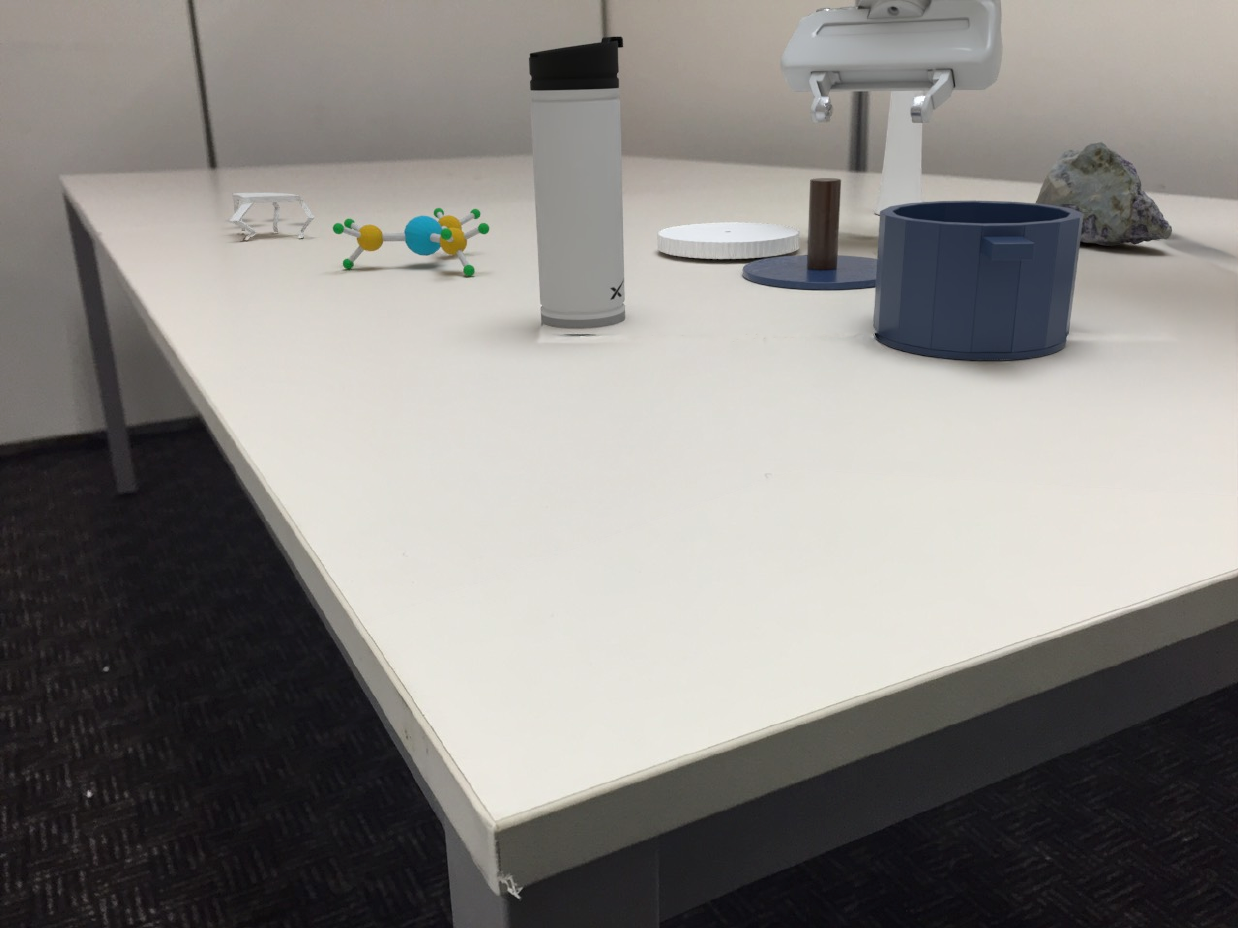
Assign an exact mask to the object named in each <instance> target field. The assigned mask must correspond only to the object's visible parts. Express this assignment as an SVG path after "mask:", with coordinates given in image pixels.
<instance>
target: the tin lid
mask: <svg viewBox="0 0 1238 928" xmlns="http://www.w3.org/2000/svg"><path fill="white" fill-rule="evenodd" d="M841 188H842V179H841V178H835V177H818V178H816V177H815V178H811V179H809V197H808V198H809V199H808V201H809V202H808V222H807V223H808V227H807V228H808V229H807V253H806V254H800V255H785V256H773V257H766V258H762V259H757V260H753V261H751V262H748V263H746V264H744V266H742V276H743V278H744V279H745V280H748V281H750V282H753V283H755V284H760V285H765V286H771V287H778V288H786V289H794V290H795V289H796V290H816V291H817V290H818V291H819V290H822V291H823V290H825V291H827V290H829V291H830V290H831V291H832V290H836V291H837V290H855V289H856V290H857V289H866V288H876V272H877V258H874V257H865V256H856V255H841V254H839V236H840V235H839V233H840V232H839V231H840V215H841V214H840V211H841V190H842V189H841ZM838 254H839V255H838Z"/></svg>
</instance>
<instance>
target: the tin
mask: <svg viewBox="0 0 1238 928" xmlns="http://www.w3.org/2000/svg"><path fill="white" fill-rule="evenodd" d="M1083 215H1084V214H1083V213H1081V212H1079V211H1076V210H1074V209H1071V208H1066V207H1060V206H1054V205H1047V204H1036V202H1034V203H1033V202H1022V201H1006V200H1003V201H1002V200H936V201H935V200H934V201H923V202H920V203H908V204H902V205H896V206H890V207H888V208H886V209H884V210H882V211H880V215H879V222H878V224H879V225H878V237H877V238H878V241H877V257H876V259H877V272H876V286H875V287H874V288H875V290H874V291H875V292H874V307H873V322H872V325H873V328H874V330H875V331H876V332H874V333H873V334H874V338H875V339H876V340H877V341H878V342H880V343H882V344H883V345H885V346H887V347H890V348H893V349H895V350H899V351H902V352H906V353H910V354H916V355H920V356H926V357H933V358H939V359H940V358H941V359H949V360H961V361H1014V360H1026V359H1033V358H1038V357H1039V358H1040V357H1044V356H1048V355H1051V354H1054V353H1057V352H1059V351H1061V350H1062V349H1064V348H1065V347H1066V345H1067V342H1068V341H1067V339H1068V335H1069V333H1070V325H1071V319H1072V312H1073V311H1072V309H1073V303H1074V296H1075V295H1074V293H1075V286H1076V279H1077V278H1076V277H1077V270H1078V262H1079V253H1080V245H1081V241H1080V239H1081V231H1082V223H1083Z"/></svg>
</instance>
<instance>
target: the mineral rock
mask: <svg viewBox="0 0 1238 928" xmlns="http://www.w3.org/2000/svg"><path fill="white" fill-rule="evenodd" d="M1035 203H1036V204H1047V205H1054V206H1060V207H1066V208H1071V209H1074V210H1076V211H1079V212H1081V213H1083V214H1084V215H1083V223H1082V231H1081V239H1080V243H1087V244H1097V245H1100V246H1108V247H1111V246H1119V245H1123V244H1132V245H1139V244H1141V243H1144V242H1146V243H1148V242H1149V243H1150V242H1151V241H1157V240H1158V241H1159V240H1168V239H1170V237H1171V236H1172V233H1173V228H1172V225H1170V223H1169V221H1168V220H1166V219H1165V218H1164V214H1163V213H1162V212H1161V211H1160V208H1159V206H1158V204H1156V202H1155V201H1154V200H1153V199H1152V198H1151V197H1150V196H1148V194H1147V193H1146V192H1145V190H1143V189H1142V181H1141V178H1140V176H1139V175H1138V172H1137V169H1136V167H1135V166H1134V164H1133V163H1132V162H1130V161H1129V160H1127V159H1125V158H1124V157H1123V156H1121V155H1120V154H1119V153H1117V151H1115V150H1113V149H1111V148H1109V147H1108V145H1106V143H1104V142H1102V141H1099V142H1094V143H1090V144H1087V145H1086V146H1085V147H1084V148H1083V149H1082V150H1081V151H1080V150H1073V149H1067V150H1065V151H1063V154H1061V155H1060V156H1059V157H1058V159H1057V161H1056V162H1055V163H1054V164H1053V166H1052V167H1051V169H1050V170H1049V172H1048V173H1047V175H1046V177H1045V178H1044V181H1043V183H1042V184H1041V187H1040V190H1039V193H1038V195H1037V199H1036V200H1035Z"/></svg>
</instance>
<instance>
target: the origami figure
mask: <svg viewBox="0 0 1238 928" xmlns="http://www.w3.org/2000/svg"><path fill="white" fill-rule="evenodd" d="M231 195H232V201H233V210H234V214H233V215H232V216H231V218H230V219H229V222H230V223H232V224H234V225H235V226H237V227H239V228H241V231H245V232H248V233H249V234H248V235H247V236H246V237H251V238H253V237H254V236H255V235H256V234H258V231H257V230H255V229H254V228H252V227H251V226H250V225H248V224H247V223H246V222H244V221H243V217H244V216H245V215H246V214H247V213H248V211H249V210H250V209H251V208H252V206H253V205H254V204H264V203H265V204H266V203H271V205H272V206H273V209H274V210H273V221H272V229H273V233H274V232H278V233H279V230H278V226H279V225H278V224H279V217H280V210H281V207H280V206H279V204H278V203H289V202H291V203H292V202H294V203H295V202H298V203H299V205H300V206H301V207H302V209H303V211H304V212H305V214H306V216H307V219H306V221H305V222H304V224H303V226H302V227H301V228H300V230H299V235H298V239H299V238H303V239H304V231H305V230H306V229H307V227H308V226H309V225H310V224H311V223H312V221H313V220H314V219H315V216H314V214H313V213H312V212H311V210H310V208H309V207H308V205H307V204H306V202H305V201H304V199H303V198H302V197H301V196H300V195H299V194H294V193H285V192H284V193H282V192H238V193H237V192H236V193H232V194H231ZM239 202H241V205H239Z"/></svg>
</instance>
